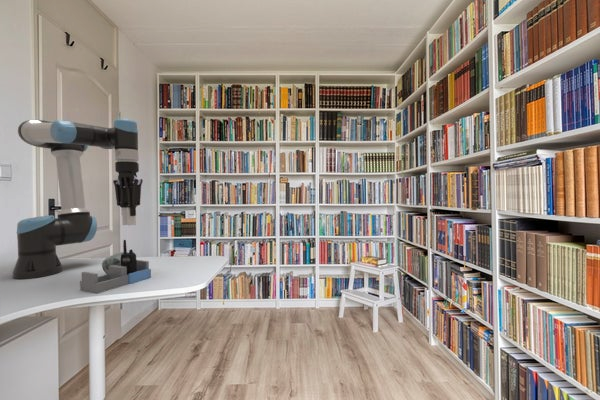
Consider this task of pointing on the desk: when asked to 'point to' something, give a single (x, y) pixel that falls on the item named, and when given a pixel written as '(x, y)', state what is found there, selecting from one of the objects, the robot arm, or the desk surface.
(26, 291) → the desk surface
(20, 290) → the desk surface
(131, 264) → the two-way radio
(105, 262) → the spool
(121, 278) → the blue-ended grey tray
